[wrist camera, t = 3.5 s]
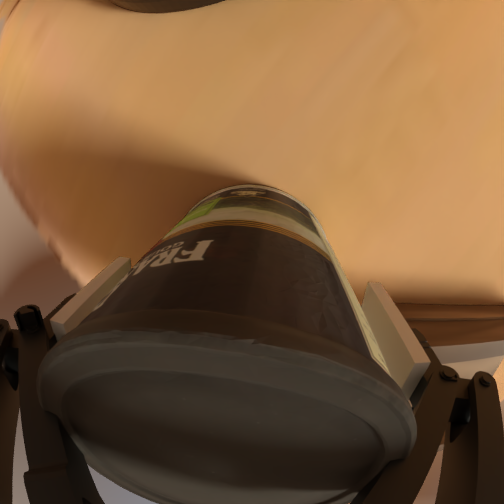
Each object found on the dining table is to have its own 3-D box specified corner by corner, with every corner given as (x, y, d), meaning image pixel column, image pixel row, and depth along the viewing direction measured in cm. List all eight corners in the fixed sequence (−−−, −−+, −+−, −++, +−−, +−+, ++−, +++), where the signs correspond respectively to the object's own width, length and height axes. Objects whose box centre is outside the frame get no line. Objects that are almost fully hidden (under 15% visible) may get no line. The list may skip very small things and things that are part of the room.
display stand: (386, 302, 19) (411, 344, 15) (514, 305, 19) (542, 332, 14) (333, 430, 25) (338, 468, 20) (450, 415, 25) (463, 444, 20)
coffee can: (144, 260, 19) (14, 415, 6) (252, 148, 16) (171, 172, 3) (249, 351, 21) (228, 530, 8) (360, 268, 18) (458, 454, 5)
